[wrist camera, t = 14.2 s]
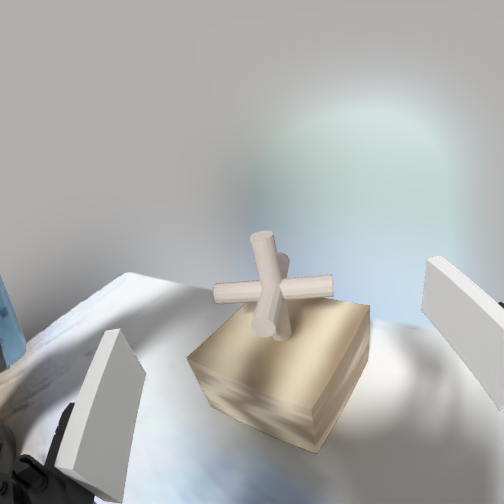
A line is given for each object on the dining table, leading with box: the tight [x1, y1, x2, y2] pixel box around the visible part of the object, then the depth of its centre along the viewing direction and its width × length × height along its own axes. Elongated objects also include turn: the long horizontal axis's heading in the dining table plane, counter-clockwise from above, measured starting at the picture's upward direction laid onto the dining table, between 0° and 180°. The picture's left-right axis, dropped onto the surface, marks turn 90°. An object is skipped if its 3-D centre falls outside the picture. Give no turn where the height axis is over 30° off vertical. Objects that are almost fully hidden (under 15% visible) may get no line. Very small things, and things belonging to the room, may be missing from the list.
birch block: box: [187, 298, 370, 454], centre depth 29 cm, size 13×13×8 cm
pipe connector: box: [213, 231, 334, 341], centre depth 25 cm, size 10×10×10 cm
